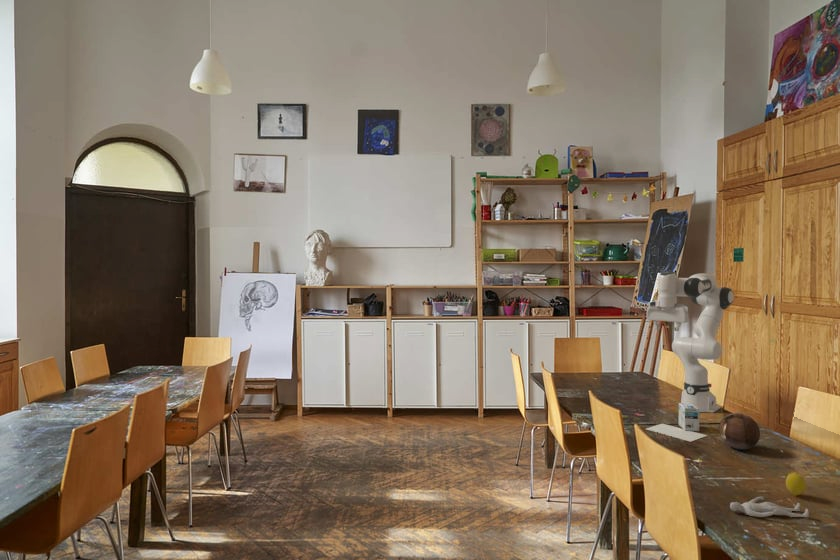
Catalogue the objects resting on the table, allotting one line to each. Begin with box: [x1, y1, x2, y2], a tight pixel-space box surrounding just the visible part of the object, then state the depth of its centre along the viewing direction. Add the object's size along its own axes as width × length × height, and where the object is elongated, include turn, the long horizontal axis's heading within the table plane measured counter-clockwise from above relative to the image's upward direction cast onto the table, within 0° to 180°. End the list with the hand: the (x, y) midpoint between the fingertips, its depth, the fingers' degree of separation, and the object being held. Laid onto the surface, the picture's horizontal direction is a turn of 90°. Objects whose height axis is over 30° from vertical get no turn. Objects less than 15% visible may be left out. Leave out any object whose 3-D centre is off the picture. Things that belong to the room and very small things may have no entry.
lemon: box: [785, 472, 807, 497], centre depth 174 cm, size 6×6×8 cm
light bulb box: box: [677, 402, 701, 432], centre depth 248 cm, size 11×7×11 cm, turn 168°
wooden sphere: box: [718, 412, 761, 450], centre depth 220 cm, size 15×15×15 cm
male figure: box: [729, 496, 810, 518], centre depth 162 cm, size 10×4×22 cm
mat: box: [645, 423, 708, 443], centre depth 242 cm, size 14×22×1 cm, turn 34°
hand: (667, 330), depth 263 cm, fingers open, 8 cm apart
